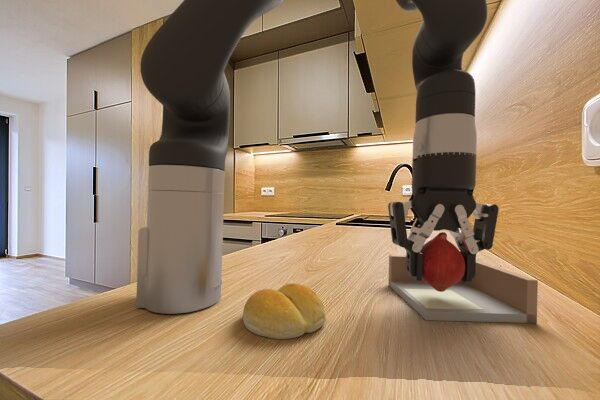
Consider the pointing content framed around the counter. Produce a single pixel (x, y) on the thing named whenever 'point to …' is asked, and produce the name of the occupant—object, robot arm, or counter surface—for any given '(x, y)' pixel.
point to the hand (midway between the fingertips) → (439, 279)
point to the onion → (442, 263)
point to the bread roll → (284, 312)
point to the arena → (469, 295)
